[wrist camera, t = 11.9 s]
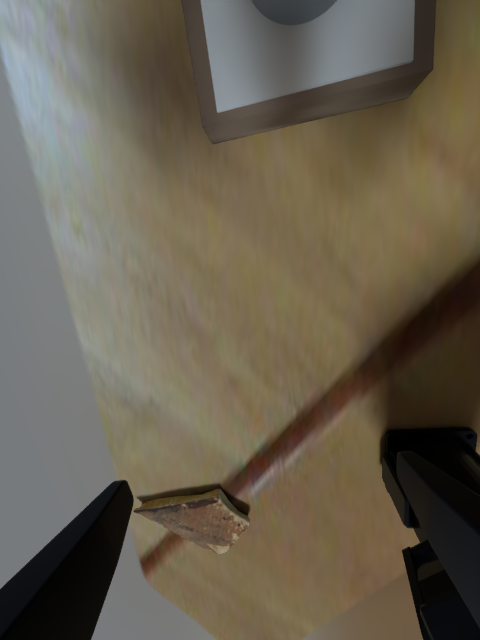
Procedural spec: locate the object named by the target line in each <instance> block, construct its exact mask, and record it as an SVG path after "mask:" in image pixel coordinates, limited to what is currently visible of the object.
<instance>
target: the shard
mask: <svg viewBox="0 0 480 640" xmlns="http://www.w3.org/2000/svg"><path fill="white" fill-rule="evenodd" d="M134 512H135V513H139V514H141V515H143V516H144V517H146V518H148V519H150V520H152V521H155V522H157V523H159V524H160V525H162V526H164V527H165V528H167V529H168V530H170V531H172V532H173V533H175V534H177V535H180V536H181V537H183V538H184V539H186V540H189V541H191V542H193V543H195V544H196V545H199V546H201V547H203V548H206V549H209V550H210V551H212V552H214V553H217V554H218V553H224V552H226V551H227V550H229V549H230V548H231V547H232V545H233V544H234V543H235V541H236V540H237V539H238V538H239V536H240V535H241V534H242V533H243V532H244V531H245V530H246V529H247V528H248V526H249V522H250V519H249V517H248V516H247V515H245V514H243V513H241V512H239V511H238V510H237V509H236V508H235V507H234V506H233V505H232V504H231V503H230V502H229V500H228V499H227V497H226V496H225V494H224V493H223V492H222V490H221V489H215V490H213V491H211V492H206V493H204V494H201V495H188V496H175V497H167V498H159V499H155V500H152V501H147V502H145V503H144V504H142V506H141V507H140V508H136V509H135V510H134Z"/></svg>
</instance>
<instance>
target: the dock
mask: <svg viewBox="0 0 480 640" xmlns="http://www.w3.org/2000/svg"><path fill="white" fill-rule="evenodd" d="M182 5H183V11H184V17H185V23H186V29H187V35H188V41H189V47H190V54H191V60H192V66H193V72H194V78H195V84H196V90H197V96H198V102H199V108H200V114H201V121H202V127H203V129H204V130H205V132H206V134H207V135H208V137H209V139H210V140H211V142H212V144H216V143H220V142H224V141H228V140H232V139H237V138H241V137H245V136H249V135H253V134H258V133H262V132H266V131H270V130H275V129H279V128H283V127H287V126H291V125H296V124H300V123H304V122H308V121H312V120H317V119H321V118H325V117H329V116H333V115H338V114H342V113H346V112H350V111H354V110H359V109H363V108H367V107H371V106H375V105H380V104H384V103H388V102H392V101H397V100H401V99H405V98H408V97H409V96H410V95H411V93H412V92H413V91H414V90H415V89H416V88H417V87H418V86H419V84H420V83H421V82H422V81H423V80H424V79H425V78H426V77H427V75H428V74H429V73H430V72H431V71H432V70H433V56H434V33H435V9H436V0H337V1H336V2H335V3H334V5H332V6H331V7H330V8H329V9H328V10H327V11H326V12H325V13H323V14H322V15H320V16H319V17H317V18H315V19H314V20H312V21H309V22H306V23H303V24H299V25H283V24H279V23H276V22H274V21H272V20H270V19H268V18H267V17H265V16H264V15H263V14H262V13H261V12H260V11H259V10H258V9H257V8H256V7H255V5H254V4H253V3H252V1H251V0H182Z"/></svg>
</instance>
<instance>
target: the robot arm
mask: <svg viewBox="0 0 480 640" xmlns="http://www.w3.org/2000/svg"><path fill="white" fill-rule="evenodd" d="M468 434H469V435H468ZM392 436H394V437H392ZM476 442H477V434H476V433H475V432H474V431H473V430H472V429H471V428H434V429H401V430H389V431H387V432H386V434H385V454H383V456H382V479H383V481H384V483H385V487H386V489H387V492H388V493H389V494H390V496H391V498H392V500H393V503H394V505H395V507H396V509H397V511H398V513H399V516H400V518H401V520H402V522H403V524H404V525H405V526H406V527H407V528H413V529H414V531H415V533H416V535H417V537H418V539H419V541H420V543H419V544H417V545H415V546H413V547H411V548H410V547H407V548H405V549H403V550H402V553H403V557H404V562H405V566H406V570H407V575H408V579H409V582H410V587H411V592H412V596H413V600H414V604H415V608H416V613H417V617H418V621H419V625H420V629H421V633H422V636H423V639H424V640H480V455H479V454H478V453H477V452H476V451H475V450H476ZM133 502H134V499H133V495H132V492H131V490H130V487H129V485H128V482H127V481H126V480H119V481H114V482H112V483H111V484H110V485H109V486H108V487H107V488H106V489H105V490H104V491H103V492H102V493H101V494H100V495H99V496H97V497H96V498H95V499H94V500H93V501H92V502H91V503H90V504H89V505H88V506H87V507H86V508H85V509H84V510H83V511H82V512H81V513H80V514H79V515H78V516H77V517H75V518H74V519H73V520H72V521H71V522H70V523H69V524H68V525H67V526H66V527H65V528H64V529H63V530H62V531H61V532H60V533H59V534H58V535H57V536H55V537H54V539H52V540H51V541H50V542H49V543H48V544H47V545H46V546H45V547H44V548H43V549H42V550H41V551H40V552H39V553H38V554H37V555H36V556H34V557H33V558H32V559H31V560H30V561H29V562H28V563H27V564H26V565H25V566H24V567H23V568H22V569H21V570H20V571H19V572H18V573H17V574H16V575H15V576H13V577H12V578H11V579H10V580H9V581H8V582H7V583H6V584H5V585H4V586H3V587H2V588H1V589H0V640H91V638H92V635H93V633H94V630H95V627H96V624H97V621H98V618H99V615H100V613H101V610H102V607H103V604H104V601H105V598H106V595H107V592H108V589H109V586H110V584H111V581H112V578H113V575H114V572H115V569H116V566H117V563H118V560H119V557H120V553H121V549H122V546H123V542H124V538H125V534H126V530H127V526H128V523H129V519H130V515H131V511H132V507H133Z"/></svg>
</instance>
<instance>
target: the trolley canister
mask: <svg viewBox="0 0 480 640" xmlns="http://www.w3.org/2000/svg"><path fill="white" fill-rule="evenodd" d="M251 1H252V3H253V4H254V5H255V7H256V8H257V9H258V10H259V11H260V12H261V13H262V14H263V15H264V16H265V17H267V18H268V19H270V20H272V21H274V22H276V23H279V24H283V25H299V24H303V23H306V22H309V21H312V20H314V19H315V18H317V17H319V16H320V15H322V14H323V13H325V12H326V11H327V10H328V9H329V8H330V7H331V6H332V5H334V3H335V2H336V1H337V0H251Z"/></svg>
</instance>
